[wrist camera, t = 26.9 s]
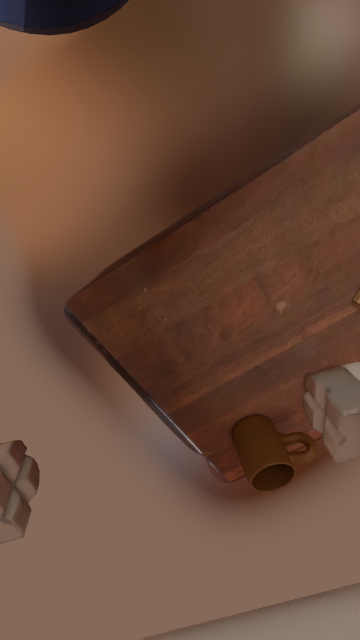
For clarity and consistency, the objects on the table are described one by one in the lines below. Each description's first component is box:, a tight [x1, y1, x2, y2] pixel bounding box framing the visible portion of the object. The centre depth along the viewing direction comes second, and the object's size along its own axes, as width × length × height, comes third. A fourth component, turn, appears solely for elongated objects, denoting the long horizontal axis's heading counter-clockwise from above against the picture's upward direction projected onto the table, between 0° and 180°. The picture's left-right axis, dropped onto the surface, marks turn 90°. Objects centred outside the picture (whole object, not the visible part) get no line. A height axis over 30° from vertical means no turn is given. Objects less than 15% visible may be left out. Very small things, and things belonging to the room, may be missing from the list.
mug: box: [233, 415, 317, 493], centre depth 49 cm, size 12×8×9 cm, turn 119°
